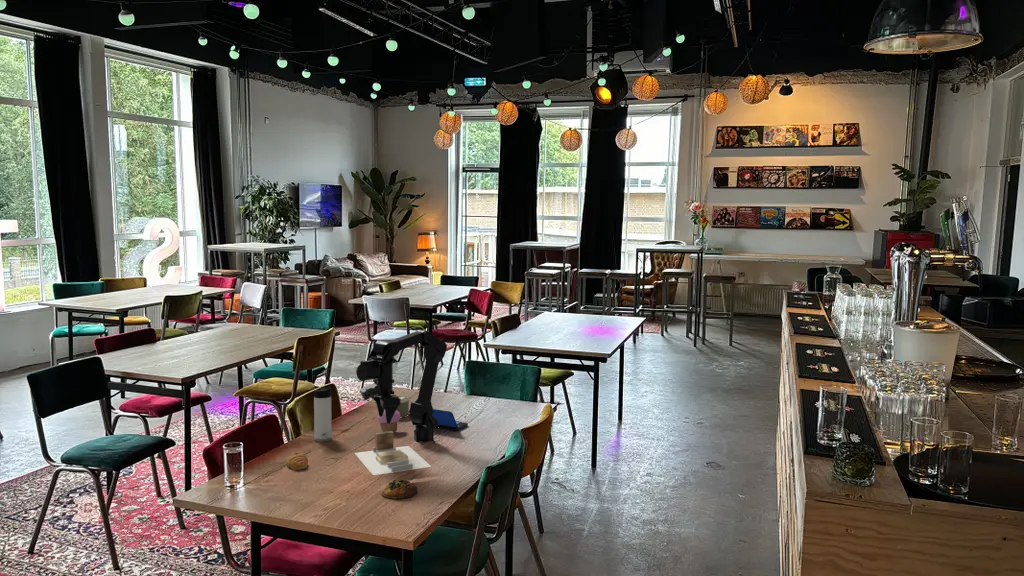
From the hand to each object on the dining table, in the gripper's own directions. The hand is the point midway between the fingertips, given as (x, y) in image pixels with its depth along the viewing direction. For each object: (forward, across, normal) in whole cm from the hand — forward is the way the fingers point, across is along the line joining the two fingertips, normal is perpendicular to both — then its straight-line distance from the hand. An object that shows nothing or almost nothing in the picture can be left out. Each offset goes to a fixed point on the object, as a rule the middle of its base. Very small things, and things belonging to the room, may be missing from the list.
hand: (384, 419), depth 250 cm
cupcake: (+13, -24, +9) cm, 29 cm away
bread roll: (+13, +36, -6) cm, 39 cm away
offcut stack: (+12, +9, 0) cm, 15 cm away
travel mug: (+13, -26, -16) cm, 33 cm away
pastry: (+13, -1, -30) cm, 32 cm away
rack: (+13, +9, 0) cm, 16 cm away
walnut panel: (+12, 0, 0) cm, 12 cm away
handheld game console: (+13, -23, +32) cm, 41 cm away
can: (+13, -48, +19) cm, 53 cm away
